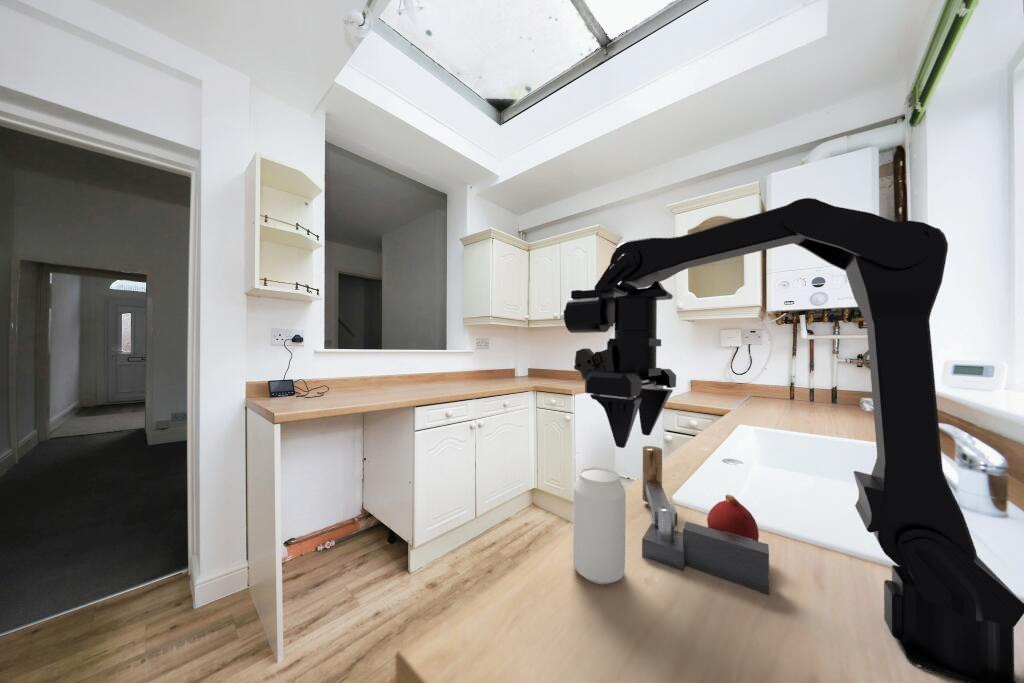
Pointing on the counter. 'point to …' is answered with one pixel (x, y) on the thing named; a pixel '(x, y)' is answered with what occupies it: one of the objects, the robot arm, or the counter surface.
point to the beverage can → (599, 525)
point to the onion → (733, 519)
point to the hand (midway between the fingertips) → (634, 440)
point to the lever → (654, 481)
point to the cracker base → (707, 551)
